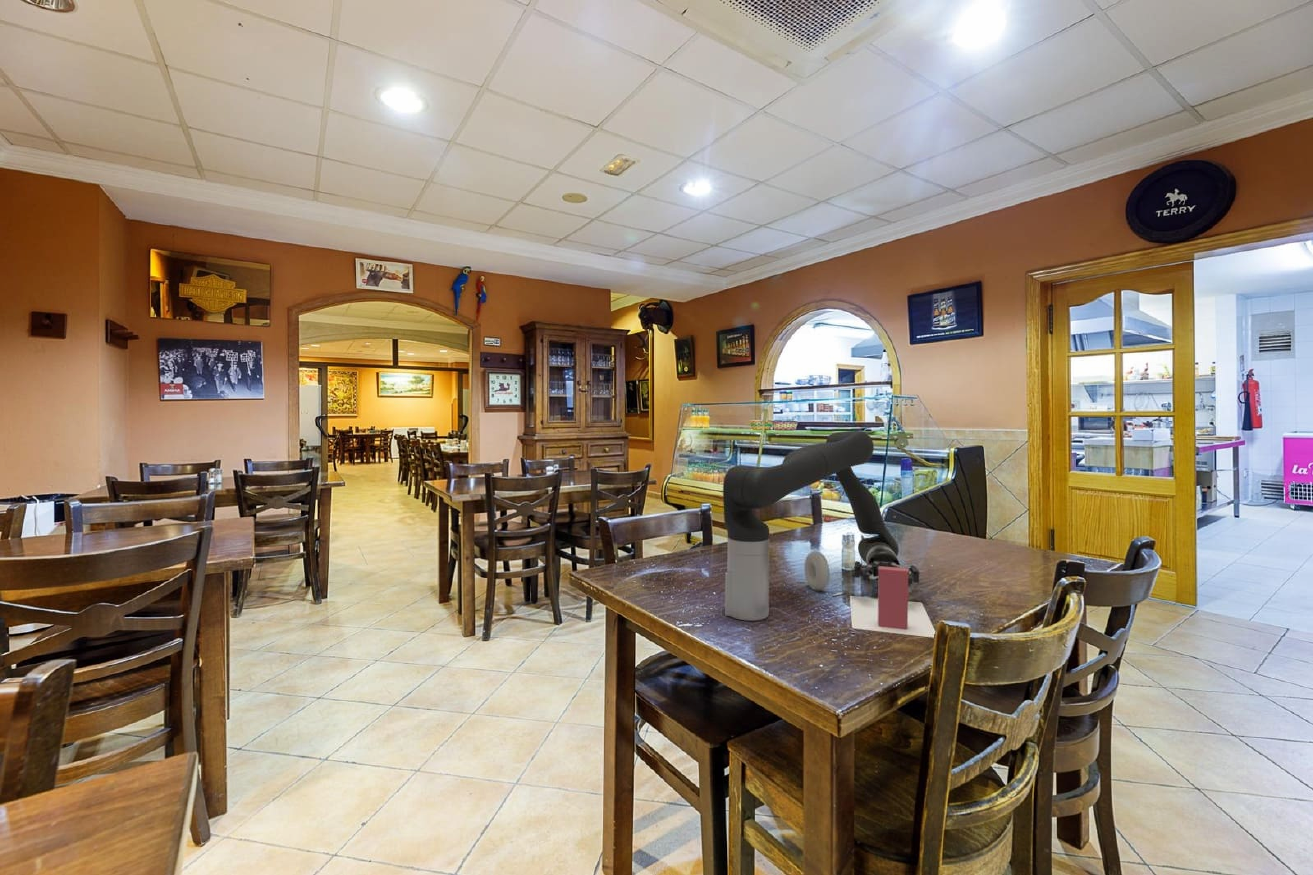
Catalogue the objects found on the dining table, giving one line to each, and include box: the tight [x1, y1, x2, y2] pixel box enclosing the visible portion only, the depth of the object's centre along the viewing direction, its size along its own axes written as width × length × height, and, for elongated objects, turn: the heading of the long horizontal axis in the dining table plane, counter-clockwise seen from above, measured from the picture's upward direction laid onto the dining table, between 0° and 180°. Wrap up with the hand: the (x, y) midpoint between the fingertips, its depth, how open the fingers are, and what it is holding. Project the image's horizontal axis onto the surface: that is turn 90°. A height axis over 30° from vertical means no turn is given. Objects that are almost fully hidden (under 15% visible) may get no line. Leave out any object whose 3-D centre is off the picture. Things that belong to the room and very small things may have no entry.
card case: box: [877, 566, 909, 630], centre depth 113 cm, size 6×3×12 cm, turn 72°
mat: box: [849, 595, 936, 639], centre depth 120 cm, size 16×22×1 cm
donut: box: [803, 550, 830, 592], centre depth 139 cm, size 10×4×10 cm, turn 9°
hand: (888, 580), depth 123 cm, fingers open, 8 cm apart
